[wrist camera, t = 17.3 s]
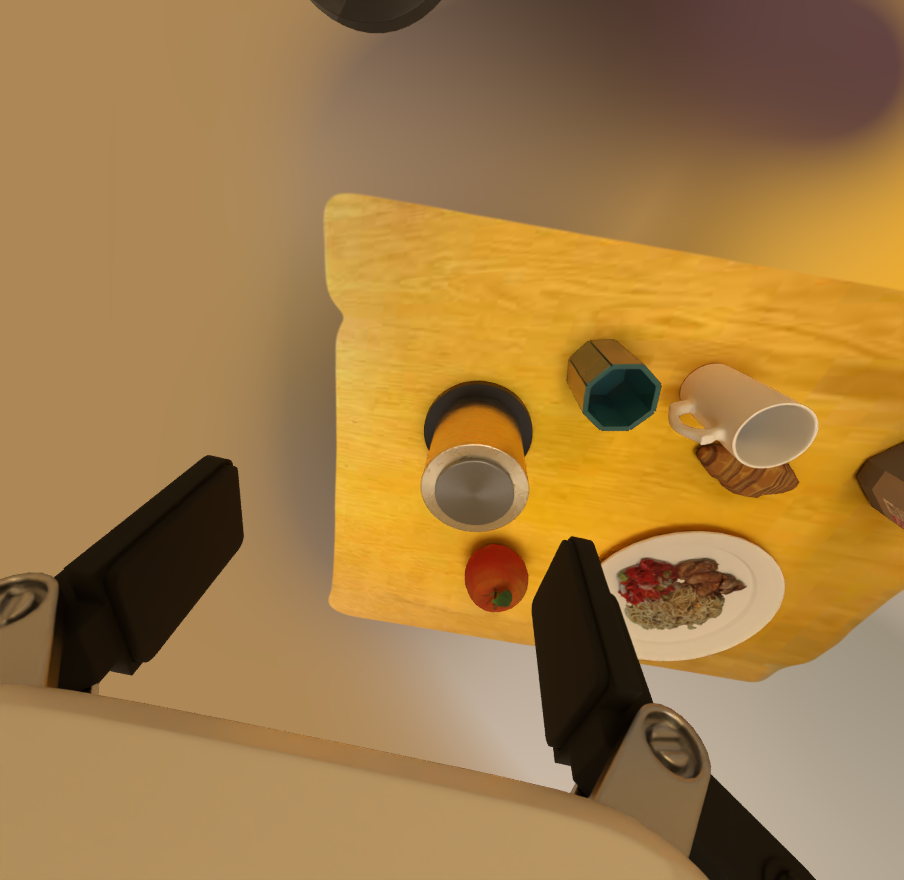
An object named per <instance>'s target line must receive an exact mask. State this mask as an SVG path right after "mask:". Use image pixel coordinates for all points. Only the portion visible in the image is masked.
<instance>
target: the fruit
mask: <svg viewBox="0 0 904 880" xmlns="http://www.w3.org/2000/svg"><path fill="white" fill-rule="evenodd" d="M465 585H466V588H467V591H468V593H469V596H470V598H471V599H472V600H473V602H474V603H475V604H476V605H477V606H479V607H480V608H482V609H483V610H485V611H489V612H501V611H506V610H508V609H511V608H513V607H514V606H515V605H517V604H518V603H519V602H520V601H521V600H522V598H523V597H524V595H525V593H526V590H527V586H528V572H527V569H526V566H525V563H524V562H523V560H522V559H521V557H520V556H519V555H518V554H517V553H516V552H515V551H513V550H512V549H510V548H508V547H507V546H504V545H500V544H490V545H486V546H484V547H481V548H480V549H478V550H477V551H476V552H475V553H473V554H472V556H471V557H470V559H469V561H468V563H467V565H466V569H465Z"/></svg>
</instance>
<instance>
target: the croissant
mask: <svg viewBox="0 0 904 880" xmlns="http://www.w3.org/2000/svg"><path fill="white" fill-rule="evenodd" d="M696 456H697V457H698V459H699V460H700V462H701V463H702V464H703V466H704V467H705V468H706V470H707V471H708V472H709V474H710V475H711V476H712V477H714V478H717V479H718V480H719V482H720V483H721V485H722V486H723V487H725V488H726V489H728V490H729V491H730V492H732V493H735V494H739V495H742V496H747V497H755V498H757V497H759V496H762V495H769V494H778V493H784V492H787V491H790V490H792V489H794V488H795V487H797V485H798V483H799V481H798V479H797V477H796V475H795V473H794V472H793V470H792V469H791V467H790V466H789V464H787V463H785V464H782V465H779V466H776V467H771V468H753V467H749V466H746V465H744V464H743V463H741V462H740V461H739V460H738V459H737V458H736V457H734V456H733V455H732V454H731V453H730V452H729V451H728V450H727V449H726V448H725V447H724V446H723V445H716V444H711V445H701V446H700V447H699V448H698V449H697V451H696Z"/></svg>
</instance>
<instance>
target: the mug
mask: <svg viewBox="0 0 904 880" xmlns="http://www.w3.org/2000/svg"><path fill="white" fill-rule="evenodd" d="M680 400H681V401H679V402H673V403H671V404H670V405H669V417H668V419H669V424H670V425H671V427H672V428H673V429H674V430H675V431H676V432H678V433H679V434H681V435H683V436H685V437H687V438H689V439H692V440H694V441H696V442H698V443H700V444H701V445H705V444H710V443H713V442H714V441H715V440H718V441H719V442H720V443H721V444H722V445H723V446H724V447H725V448H726V449H727V450H728V451H729V452H730V453H731V454H732V455H733V456H734V457H736V458H737V459H738V460H739V461H740V462H741V463H743V464H744V465H746V466H749V467H753V468H771V467H776V466H779V465H782V464H785V463H787V462H789V461H791V460H793V459H795V458H796V457H798V456H799V455H801V454H802V453H803V452H804V451H805V450H806V449H807V448H808V447H809V446H810V445H811V443H812V442H813V440H814V439H815V437H816V435H817V432H818V419H817V417H816V415H815V413H814V412H813V411H812V410H811V409H810V408H808V407H806V406H804V405H802V404H800V403H798V402H797V401H795V400H793V399H791V398H789V397H788V396H786V395H784V394H782V393H780V392H778V391H776V390H774V389H772V388H770V387H768V386H766V385H764V384H762V383H760V382H758V381H757V380H755V379H753V378H751V377H749V376H747V375H745V374H743V373H741V372H739V371H737V370H735V369H733V368H731V367H729V366H727V365H724V364H709V365H705V366H702V367H700V368H698V369H696V370H695V371H693V372H692V373H691V374H690V375H689V376H688V377H687V378H686V379H685V381H684V382H683V384H682V386H681V389H680ZM687 413H691V414H692V416H694V417H695V418H696V419H697V420H698V421H699V422H700V423H701V424H702V425H703V426H704V427H705V428H706V429H697V428H692V427H689V426H687V425H685V424H684V423H682V422H681V420H680V418H679V417H680V415H683V414H687Z"/></svg>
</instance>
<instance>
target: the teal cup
mask: <svg viewBox="0 0 904 880" xmlns="http://www.w3.org/2000/svg"><path fill="white" fill-rule="evenodd" d="M566 381H567V383H568V385H569V387H570V389H571V391H572V393H573V395H574V397H575V399H576V401H577V403H578V405H579V407H580V409H581V410H582V412H583V414H584V415H585V416H586V417H587V418H588V419H589V420H590V421H591V422H592V423H593V424H594V425H595V426H596V427H597V428H598V429H599V430H601V431H629V429H630V430H632V429H633V428H635V427H636V426H637V425H639V424H640V423H642V422H643V421H644V420H646V419H647V418H648V417H650V416H651V415H653V414H654V412H653V411H656V408H657V404H658V399H659V395H660V391H661V387H662V386H661V385H660V384H661V383H660V382H659V380H658V379H657V378H656V377H655V376H654V375H653V374H652V373H651V371H650V370H649V369H648V368H647V367H646V366H645V365H644V364H643V363H642V362H641V361H640V360H638V359H637V358H636V357H635V356H634V355H633V354H632V353H630V352H629V351H628V350H627V349H626V348H625V347H623V346H622V345H621V344H620V343H619V342H618V341H615V340H590V342H589V341H588V342H587V343H585V344H584V345H583V346H582V347H581V348H580V349H579V350H578V351H576V352H575V353H574V354H573V355H572V356H571V357H570V359H569V361H568V371H567V380H566Z"/></svg>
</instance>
